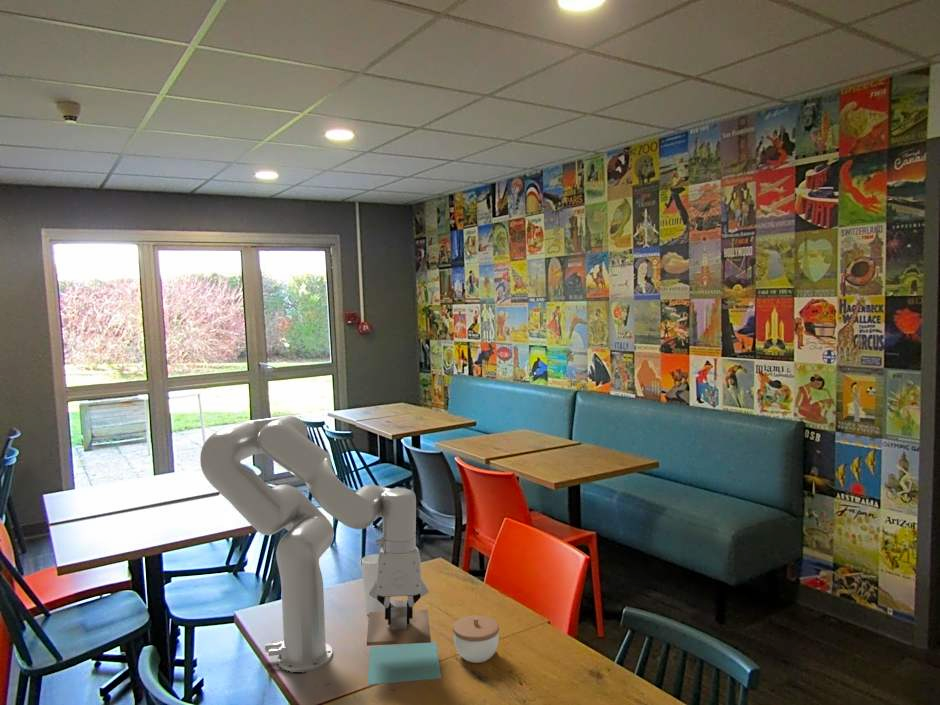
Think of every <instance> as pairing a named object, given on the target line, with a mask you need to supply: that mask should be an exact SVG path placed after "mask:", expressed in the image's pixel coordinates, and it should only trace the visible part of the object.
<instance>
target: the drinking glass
mask: <svg viewBox="0 0 940 705" xmlns="http://www.w3.org/2000/svg"><path fill="white" fill-rule="evenodd" d="M378 556H379V553H378V554H377V553H376V554H368V555H366V556H363V557H362V558H361V574H362V575H361V576H362V582H363V583H362V584H363V592H364V600H365V612H366V614H367V615H368V616H369V612H385V607H384V605H382V604H381V603H380V602H379V601H378V600H377V599H375V598H373V597H372V596H370V595H369V590H370V589H371V587H372V586H373V584H374V582H375V581H376V579H377V563H378Z"/></svg>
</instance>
